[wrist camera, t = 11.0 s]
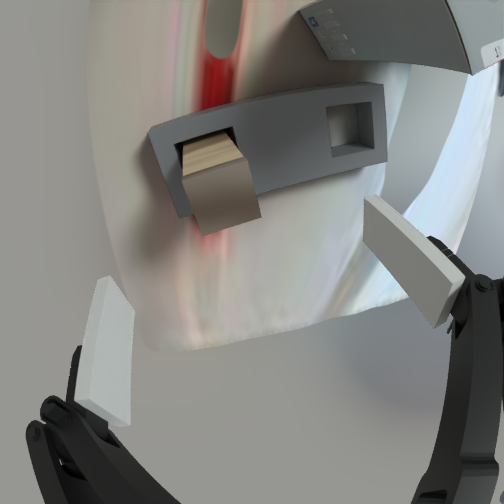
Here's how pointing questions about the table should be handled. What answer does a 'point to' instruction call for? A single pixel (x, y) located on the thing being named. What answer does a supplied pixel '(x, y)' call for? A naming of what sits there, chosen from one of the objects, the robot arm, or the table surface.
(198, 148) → the plug
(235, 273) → the table surface
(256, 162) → the socket strip
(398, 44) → the hard drive box
